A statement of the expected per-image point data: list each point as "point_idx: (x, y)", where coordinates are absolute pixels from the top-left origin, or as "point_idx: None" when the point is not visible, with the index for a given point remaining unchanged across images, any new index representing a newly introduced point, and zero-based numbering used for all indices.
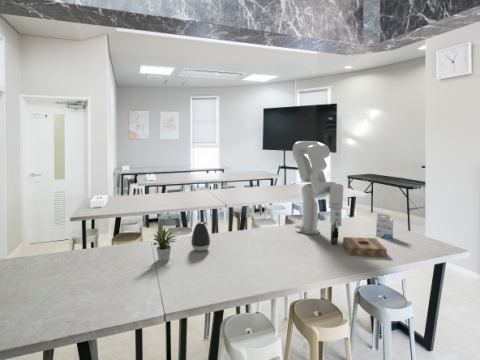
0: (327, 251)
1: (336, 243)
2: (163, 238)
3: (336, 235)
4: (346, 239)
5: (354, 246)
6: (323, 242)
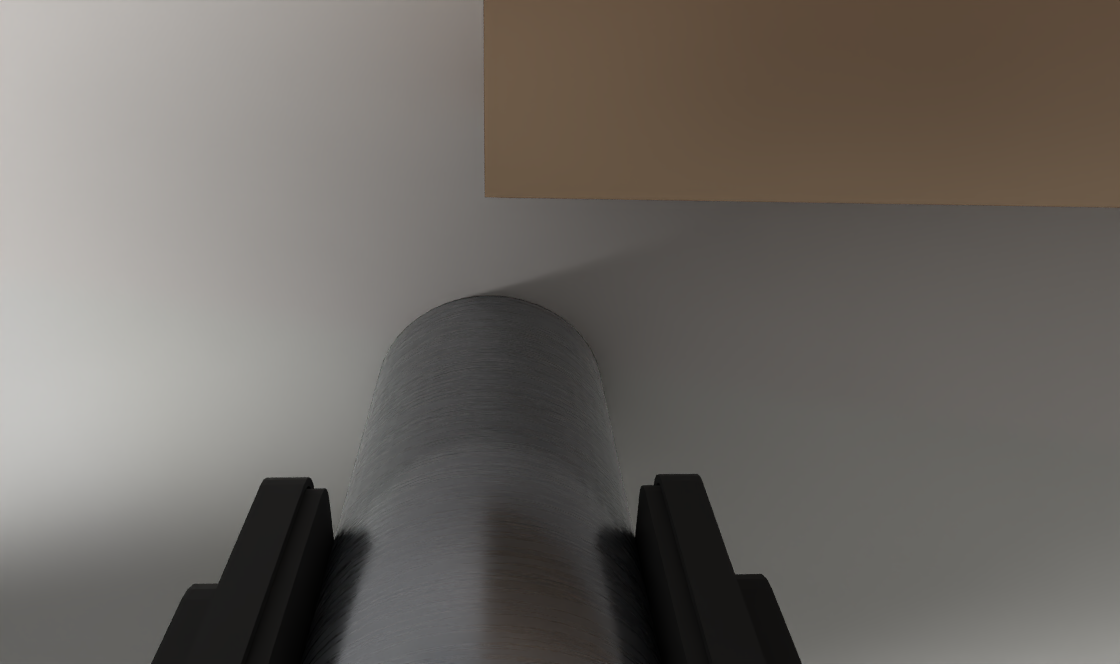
0: (1111, 615)
1: (593, 365)
2: None
3: (775, 625)
4: (894, 123)
5: None
6: None
